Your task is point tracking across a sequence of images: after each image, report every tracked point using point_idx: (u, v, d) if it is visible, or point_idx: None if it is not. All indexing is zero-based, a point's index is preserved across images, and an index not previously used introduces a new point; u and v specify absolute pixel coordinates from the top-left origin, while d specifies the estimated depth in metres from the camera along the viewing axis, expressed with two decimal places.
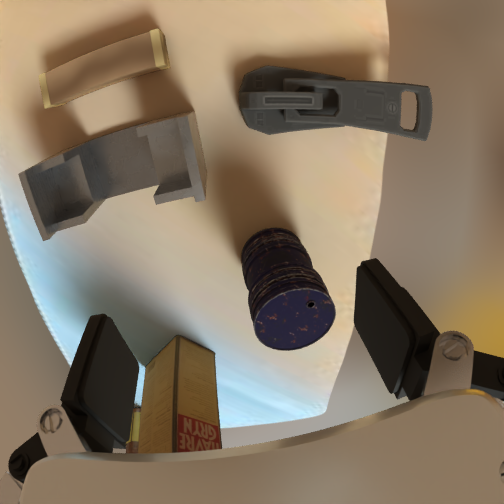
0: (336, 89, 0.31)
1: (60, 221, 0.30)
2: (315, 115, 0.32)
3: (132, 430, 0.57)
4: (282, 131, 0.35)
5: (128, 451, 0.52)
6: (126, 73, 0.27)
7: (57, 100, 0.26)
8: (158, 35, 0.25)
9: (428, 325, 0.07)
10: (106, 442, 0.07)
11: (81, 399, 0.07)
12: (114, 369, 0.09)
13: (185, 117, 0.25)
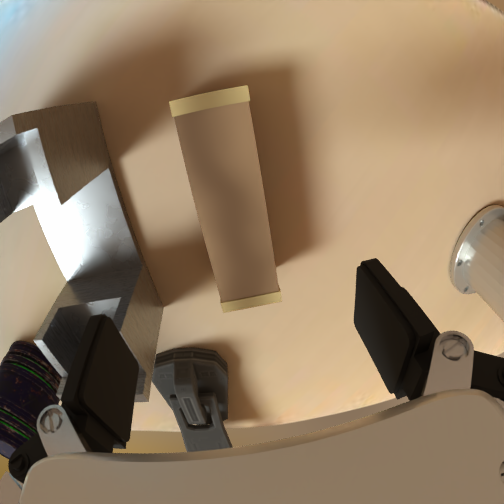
0: (213, 427, 0.33)
1: None
2: (182, 417, 0.32)
3: None
4: (158, 389, 0.32)
5: None
6: (213, 264, 0.21)
7: (180, 132, 0.17)
8: (270, 302, 0.23)
9: (428, 325, 0.07)
10: (106, 442, 0.07)
11: (81, 399, 0.07)
12: (114, 369, 0.09)
13: (146, 399, 0.19)
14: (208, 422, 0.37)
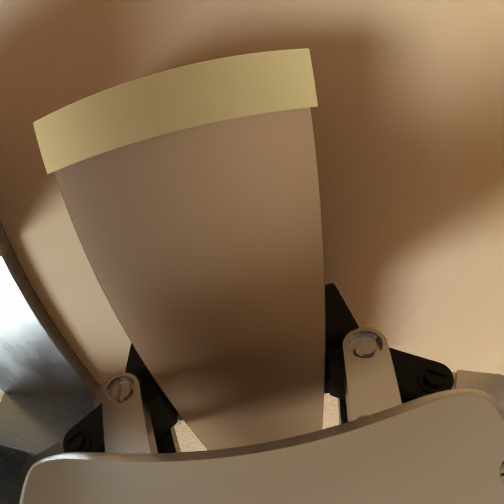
0: None
1: None
2: None
3: None
4: None
5: None
6: (209, 447, 0.10)
7: (80, 220, 0.05)
8: None
9: (338, 320, 0.08)
10: (172, 410, 0.08)
11: None
12: None
13: None
14: None
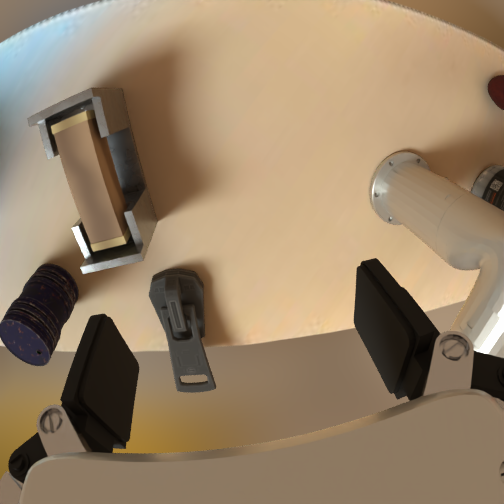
0: (192, 338, 0.48)
1: (47, 128, 0.25)
2: (169, 327, 0.47)
3: None
4: (153, 304, 0.47)
5: None
6: (81, 217, 0.31)
7: (57, 142, 0.26)
8: (119, 244, 0.33)
9: (428, 325, 0.07)
10: (106, 442, 0.07)
11: (81, 399, 0.07)
12: (114, 369, 0.09)
13: (141, 259, 0.33)
14: None
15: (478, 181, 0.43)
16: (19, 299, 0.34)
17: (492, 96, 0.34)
